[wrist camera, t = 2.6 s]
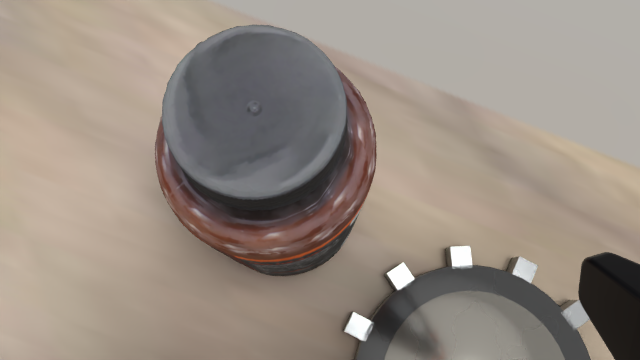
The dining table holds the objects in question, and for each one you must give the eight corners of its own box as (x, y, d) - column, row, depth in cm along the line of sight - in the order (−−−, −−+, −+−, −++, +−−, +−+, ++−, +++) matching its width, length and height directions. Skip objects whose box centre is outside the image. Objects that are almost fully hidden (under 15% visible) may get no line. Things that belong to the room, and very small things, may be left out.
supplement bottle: (384, 213, 22) (456, 125, 11) (275, 308, 21) (234, 316, 10) (292, 111, 23) (274, -65, 12) (184, 198, 22) (55, 94, 11)
